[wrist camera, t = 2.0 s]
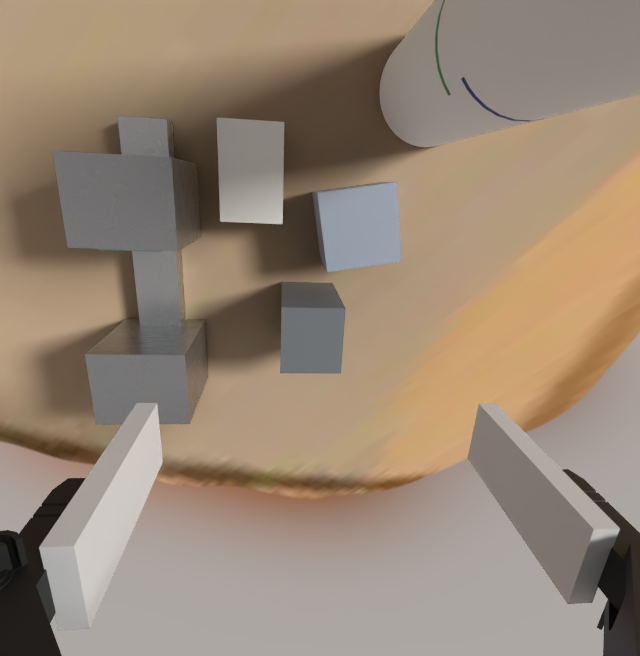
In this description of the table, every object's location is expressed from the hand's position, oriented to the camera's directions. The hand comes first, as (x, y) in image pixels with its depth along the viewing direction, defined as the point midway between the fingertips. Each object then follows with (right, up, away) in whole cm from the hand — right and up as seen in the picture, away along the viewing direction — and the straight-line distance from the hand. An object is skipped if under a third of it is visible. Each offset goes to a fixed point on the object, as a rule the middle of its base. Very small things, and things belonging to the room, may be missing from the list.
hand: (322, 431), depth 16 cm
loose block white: (-5, +15, +12) cm, 20 cm away
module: (-1, +6, +16) cm, 17 cm away
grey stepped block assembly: (-12, +9, +14) cm, 20 cm away
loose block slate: (+2, +12, +14) cm, 19 cm away
